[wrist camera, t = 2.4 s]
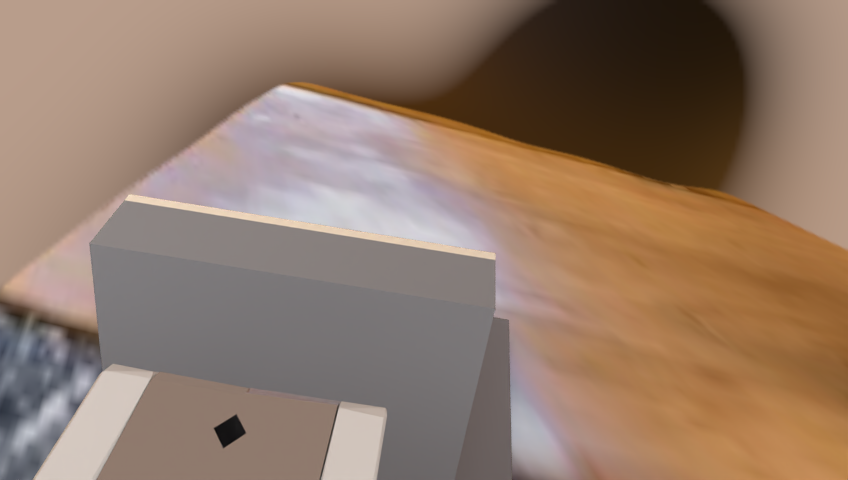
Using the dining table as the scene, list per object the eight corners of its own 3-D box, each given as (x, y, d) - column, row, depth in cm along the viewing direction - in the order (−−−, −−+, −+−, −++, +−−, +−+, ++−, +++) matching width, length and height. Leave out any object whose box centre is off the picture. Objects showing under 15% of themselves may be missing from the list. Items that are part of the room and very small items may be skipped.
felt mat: (506, 328, 43) (508, 319, 43) (511, 647, 28) (515, 637, 28) (178, 276, 43) (178, 266, 43) (4, 567, 28) (1, 556, 27)
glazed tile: (439, 496, 32) (495, 252, 26) (434, 561, 30) (495, 308, 23) (147, 450, 32) (130, 193, 26) (117, 511, 30) (89, 243, 23)
